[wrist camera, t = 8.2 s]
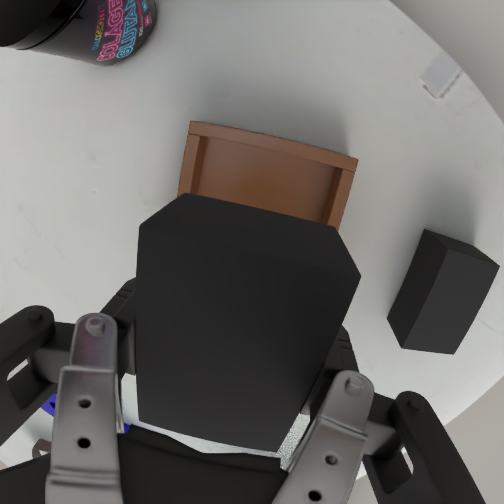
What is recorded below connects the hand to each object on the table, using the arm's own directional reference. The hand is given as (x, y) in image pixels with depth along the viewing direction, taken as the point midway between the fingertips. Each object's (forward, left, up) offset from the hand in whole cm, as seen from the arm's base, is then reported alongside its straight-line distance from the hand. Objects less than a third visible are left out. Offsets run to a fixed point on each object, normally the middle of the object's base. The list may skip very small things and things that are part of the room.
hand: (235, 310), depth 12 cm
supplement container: (-13, -13, -11) cm, 21 cm away
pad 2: (+1, +15, -11) cm, 18 cm away
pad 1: (0, 0, 0) cm, 0 cm away
